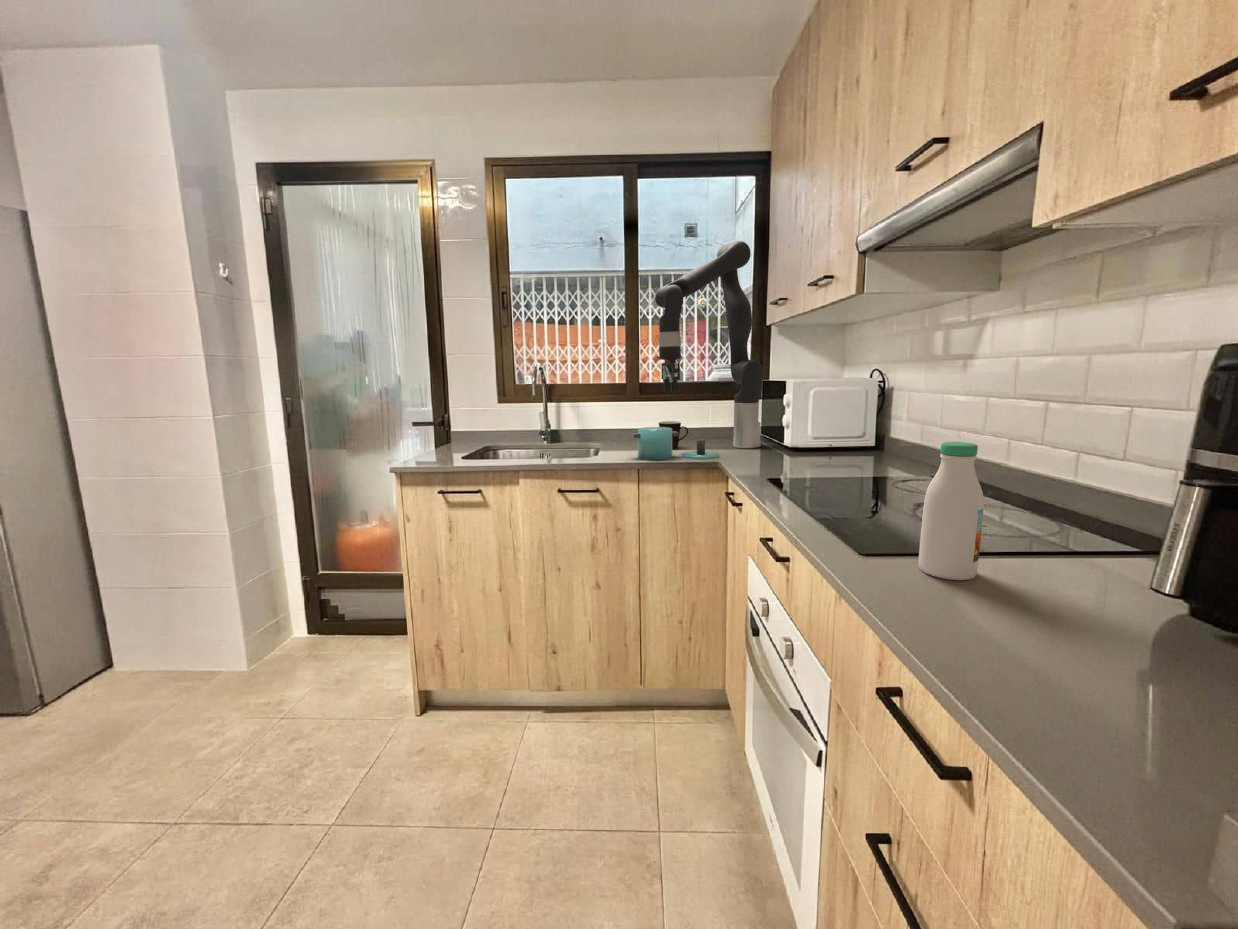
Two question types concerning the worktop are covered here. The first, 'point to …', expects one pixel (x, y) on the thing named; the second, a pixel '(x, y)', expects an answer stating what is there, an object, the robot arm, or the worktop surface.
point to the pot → (655, 442)
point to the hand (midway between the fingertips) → (670, 392)
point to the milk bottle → (952, 516)
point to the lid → (701, 452)
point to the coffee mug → (675, 427)
